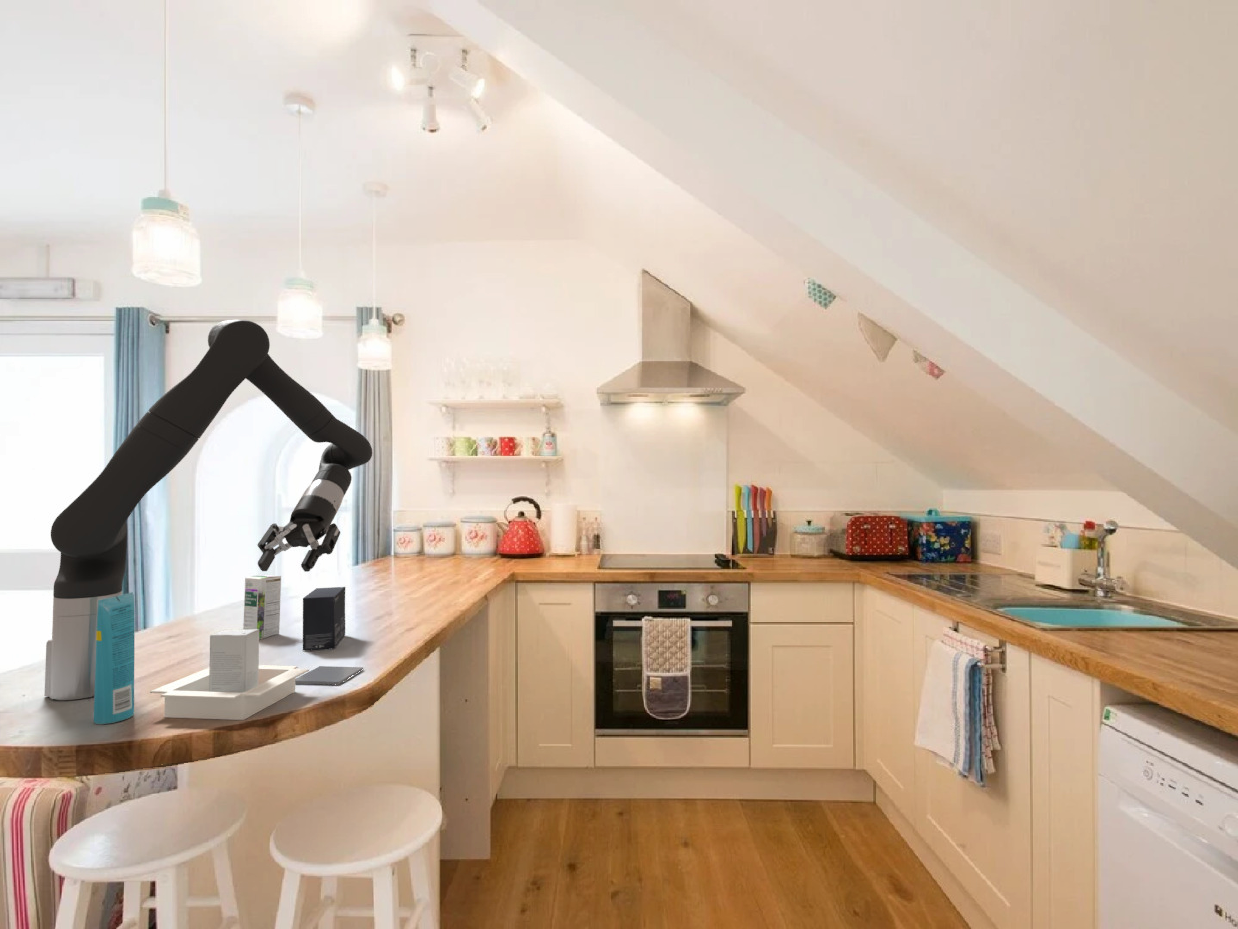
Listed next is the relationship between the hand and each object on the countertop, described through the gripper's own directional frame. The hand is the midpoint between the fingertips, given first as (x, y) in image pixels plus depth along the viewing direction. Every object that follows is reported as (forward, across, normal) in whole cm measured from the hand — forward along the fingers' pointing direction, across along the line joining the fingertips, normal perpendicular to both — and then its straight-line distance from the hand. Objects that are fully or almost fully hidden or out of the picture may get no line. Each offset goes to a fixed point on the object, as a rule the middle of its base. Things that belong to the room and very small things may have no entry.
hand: (283, 569), depth 115 cm
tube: (+29, -14, 0) cm, 32 cm away
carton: (+24, 0, +6) cm, 24 cm away
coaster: (+13, +8, +16) cm, 22 cm away
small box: (-4, -7, +34) cm, 35 cm away
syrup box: (-7, -26, +37) cm, 46 cm away
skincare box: (+24, 0, +6) cm, 24 cm away
